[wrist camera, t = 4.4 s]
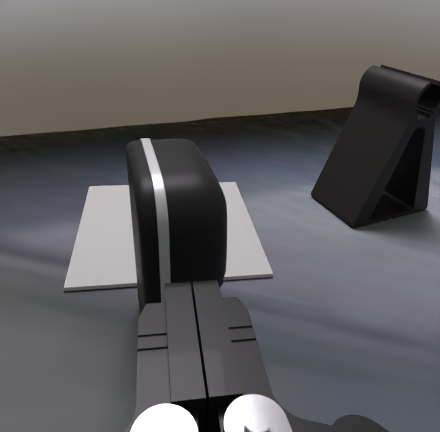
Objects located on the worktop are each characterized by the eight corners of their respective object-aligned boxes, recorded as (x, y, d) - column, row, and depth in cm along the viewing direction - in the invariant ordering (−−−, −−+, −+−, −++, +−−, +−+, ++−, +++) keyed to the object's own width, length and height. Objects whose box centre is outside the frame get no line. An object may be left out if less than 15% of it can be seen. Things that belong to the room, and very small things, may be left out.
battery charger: (224, 381, 21) (241, 187, 15) (151, 396, 20) (136, 196, 14) (196, 290, 26) (199, 124, 20) (137, 299, 25) (123, 127, 19)
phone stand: (380, 182, 42) (415, 63, 35) (426, 210, 37) (476, 78, 31) (309, 196, 38) (335, 67, 32) (351, 229, 34) (390, 85, 27)
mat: (64, 291, 26) (63, 287, 25) (89, 189, 37) (89, 186, 37) (272, 276, 28) (273, 273, 28) (235, 184, 39) (235, 182, 39)
